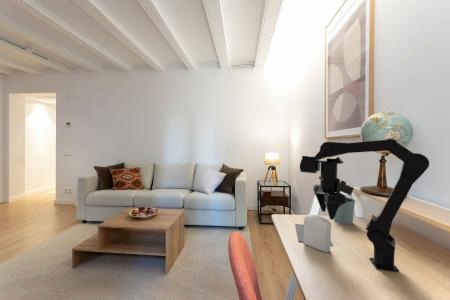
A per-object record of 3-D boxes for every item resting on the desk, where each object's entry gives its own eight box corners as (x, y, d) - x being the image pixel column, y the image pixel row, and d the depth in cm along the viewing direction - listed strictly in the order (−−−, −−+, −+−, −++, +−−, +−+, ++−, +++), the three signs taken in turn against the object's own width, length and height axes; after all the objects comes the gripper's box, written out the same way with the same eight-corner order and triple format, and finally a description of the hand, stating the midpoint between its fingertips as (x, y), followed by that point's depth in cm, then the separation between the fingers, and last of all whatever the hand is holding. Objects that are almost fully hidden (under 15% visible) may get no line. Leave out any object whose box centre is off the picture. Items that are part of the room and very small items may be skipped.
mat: (332, 245, 89) (332, 244, 89) (298, 241, 93) (298, 241, 93) (323, 227, 109) (323, 226, 109) (295, 224, 112) (295, 223, 112)
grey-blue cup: (351, 219, 120) (351, 197, 120) (357, 226, 111) (358, 202, 110) (330, 217, 123) (331, 196, 122) (334, 224, 113) (335, 200, 113)
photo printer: (301, 243, 91) (302, 213, 90) (307, 239, 93) (308, 211, 92) (326, 254, 83) (327, 221, 82) (332, 250, 86) (333, 218, 84)
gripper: (363, 179, 75) (362, 225, 76) (341, 171, 94) (339, 208, 94) (328, 178, 76) (327, 223, 77) (313, 171, 95) (312, 207, 95)
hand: (327, 215), depth 86 cm, fingers open, 9 cm apart
